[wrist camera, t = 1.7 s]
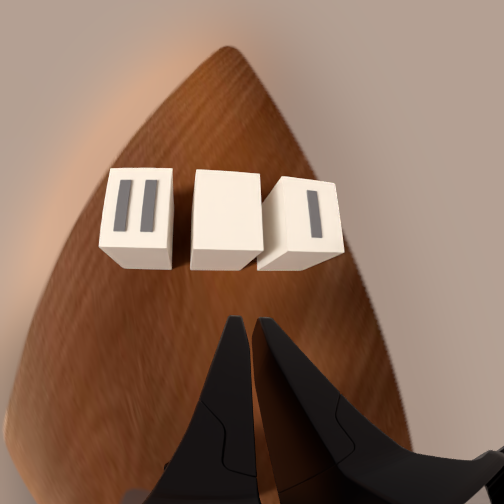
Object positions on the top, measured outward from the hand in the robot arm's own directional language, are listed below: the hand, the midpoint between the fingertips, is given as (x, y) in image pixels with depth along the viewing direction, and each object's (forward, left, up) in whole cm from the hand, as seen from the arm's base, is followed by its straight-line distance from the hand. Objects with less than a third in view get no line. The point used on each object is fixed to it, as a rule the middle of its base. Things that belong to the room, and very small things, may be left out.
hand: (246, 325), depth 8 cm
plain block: (+6, -1, -13) cm, 15 cm away
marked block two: (+6, +5, -13) cm, 16 cm away
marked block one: (+6, -6, -13) cm, 16 cm away
